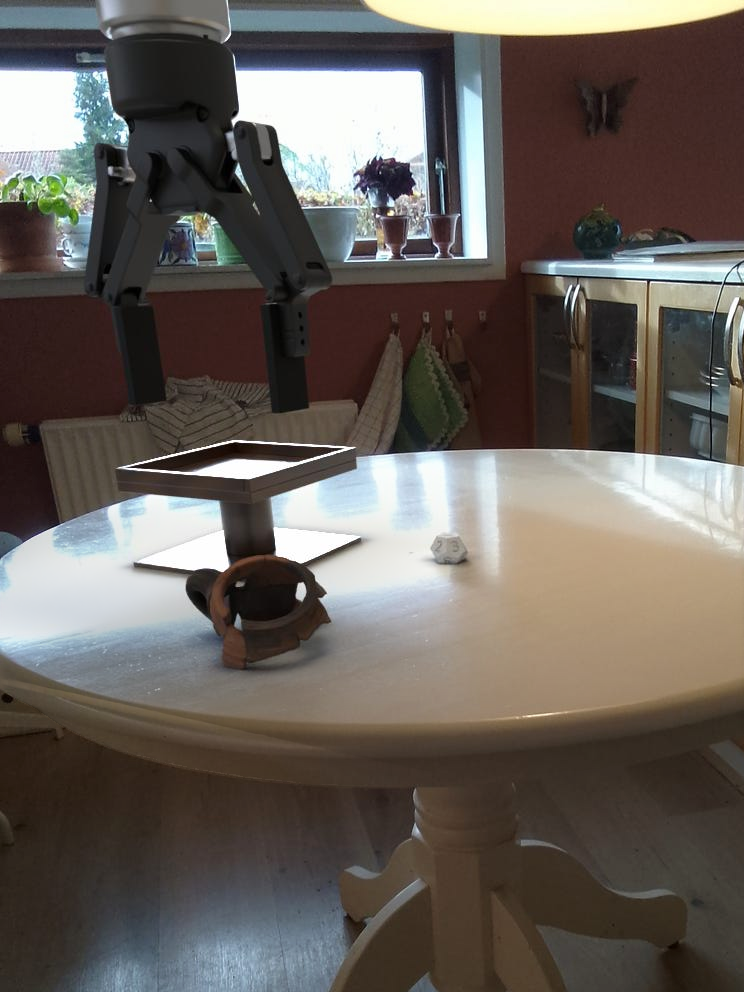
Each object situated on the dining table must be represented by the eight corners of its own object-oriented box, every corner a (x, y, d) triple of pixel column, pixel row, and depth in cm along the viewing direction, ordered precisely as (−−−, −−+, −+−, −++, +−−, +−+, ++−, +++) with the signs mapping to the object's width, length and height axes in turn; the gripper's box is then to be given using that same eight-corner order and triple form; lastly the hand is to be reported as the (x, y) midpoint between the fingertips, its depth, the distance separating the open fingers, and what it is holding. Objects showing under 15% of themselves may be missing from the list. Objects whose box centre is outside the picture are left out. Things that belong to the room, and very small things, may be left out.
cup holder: (131, 573, 90) (113, 468, 86) (243, 531, 104) (232, 440, 100) (262, 591, 83) (249, 478, 79) (363, 544, 97) (356, 447, 93)
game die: (428, 561, 91) (426, 532, 90) (465, 558, 91) (464, 529, 90) (433, 571, 87) (431, 541, 86) (471, 568, 88) (470, 538, 87)
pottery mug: (355, 634, 73) (350, 563, 67) (299, 726, 68) (288, 658, 61) (221, 588, 76) (204, 515, 69) (156, 673, 70) (131, 602, 63)
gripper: (372, 21, 52) (396, 406, 60) (88, 81, 64) (138, 394, 72) (280, -10, 46) (319, 422, 54) (-13, 63, 58) (52, 406, 66)
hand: (215, 407), depth 63 cm, fingers open, 13 cm apart
